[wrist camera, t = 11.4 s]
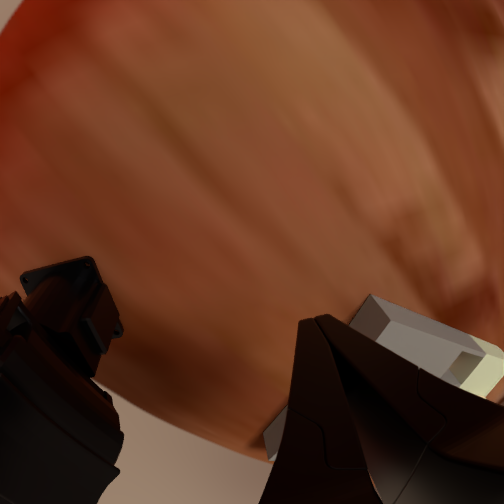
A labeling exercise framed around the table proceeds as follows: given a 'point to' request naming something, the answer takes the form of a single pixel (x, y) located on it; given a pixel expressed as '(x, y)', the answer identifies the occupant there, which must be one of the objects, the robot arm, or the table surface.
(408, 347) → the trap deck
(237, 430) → the table surface
